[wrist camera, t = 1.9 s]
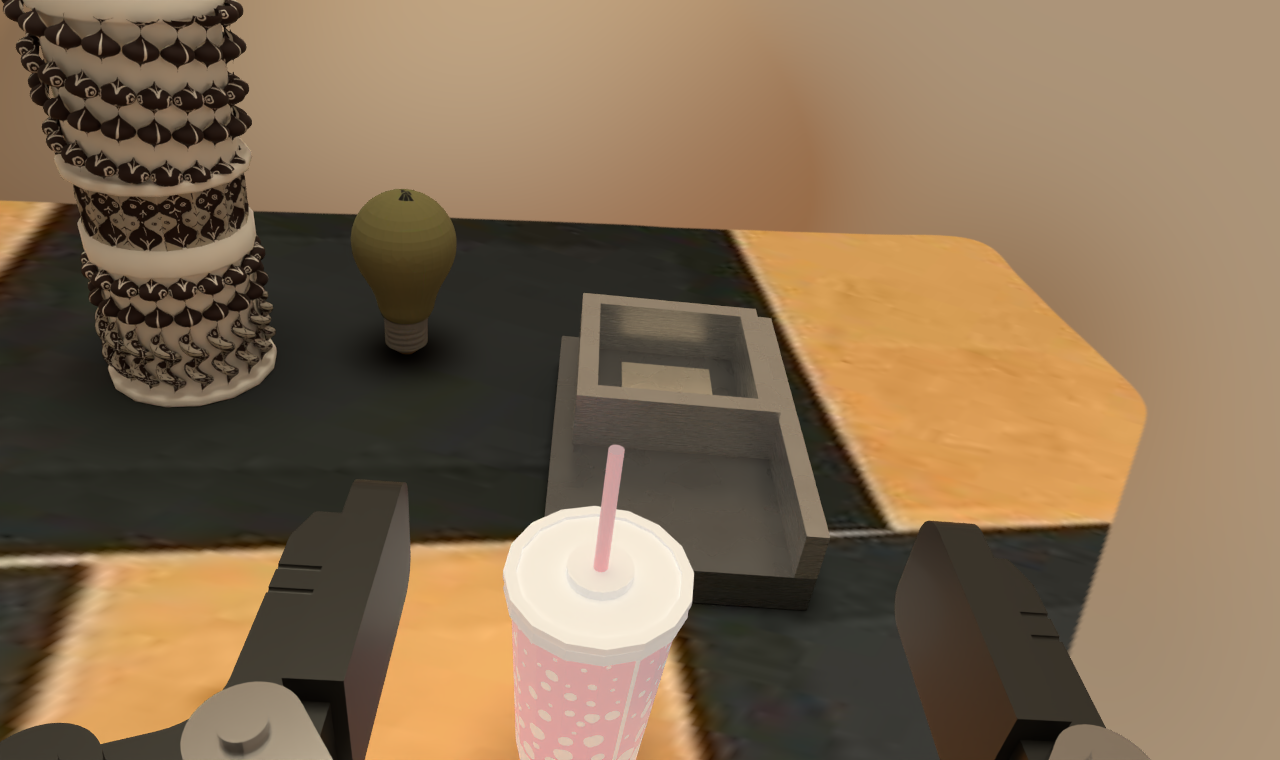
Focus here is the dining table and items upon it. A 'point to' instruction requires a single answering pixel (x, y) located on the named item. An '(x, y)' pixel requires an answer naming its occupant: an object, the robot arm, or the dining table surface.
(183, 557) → the dining table surface
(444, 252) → the light bulb
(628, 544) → the beverage cup
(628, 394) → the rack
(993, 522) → the dining table surface
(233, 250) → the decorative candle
